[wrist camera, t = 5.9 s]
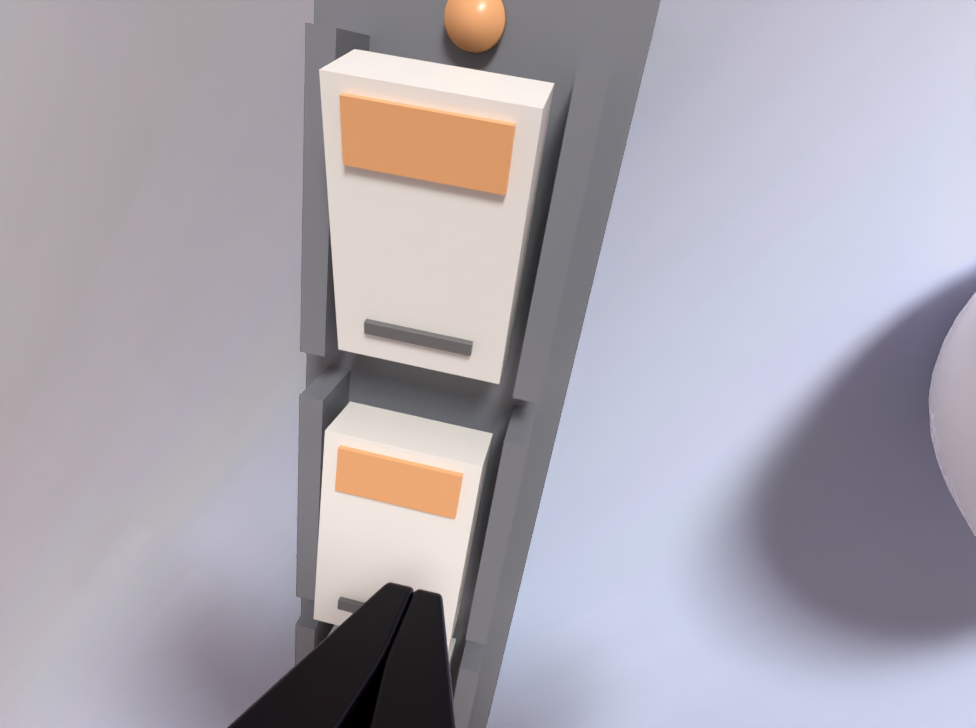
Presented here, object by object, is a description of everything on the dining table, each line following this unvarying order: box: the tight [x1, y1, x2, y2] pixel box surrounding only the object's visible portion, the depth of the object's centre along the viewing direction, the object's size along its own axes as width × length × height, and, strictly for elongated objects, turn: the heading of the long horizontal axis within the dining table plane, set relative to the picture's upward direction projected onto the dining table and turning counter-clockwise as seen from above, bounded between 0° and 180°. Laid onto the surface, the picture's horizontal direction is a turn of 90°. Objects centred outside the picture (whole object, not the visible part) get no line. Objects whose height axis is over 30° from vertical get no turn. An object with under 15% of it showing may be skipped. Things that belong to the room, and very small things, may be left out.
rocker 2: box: [314, 401, 493, 651], centre depth 16 cm, size 6×4×2 cm, turn 171°
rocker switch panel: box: [295, 0, 660, 728], centre depth 19 cm, size 30×7×6 cm, turn 171°
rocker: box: [319, 49, 555, 384], centre depth 12 cm, size 6×4×2 cm, turn 172°
